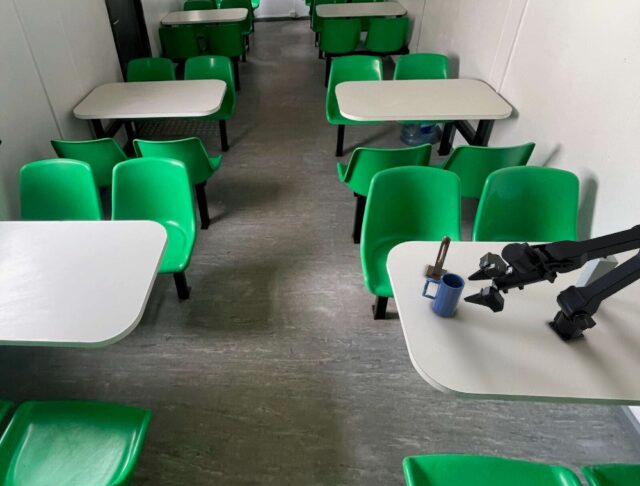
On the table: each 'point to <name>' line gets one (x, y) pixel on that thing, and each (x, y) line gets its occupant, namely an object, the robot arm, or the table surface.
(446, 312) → the mug
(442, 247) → the mug rack
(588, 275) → the vintage mobile phone
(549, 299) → the table surface
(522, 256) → the robot arm
